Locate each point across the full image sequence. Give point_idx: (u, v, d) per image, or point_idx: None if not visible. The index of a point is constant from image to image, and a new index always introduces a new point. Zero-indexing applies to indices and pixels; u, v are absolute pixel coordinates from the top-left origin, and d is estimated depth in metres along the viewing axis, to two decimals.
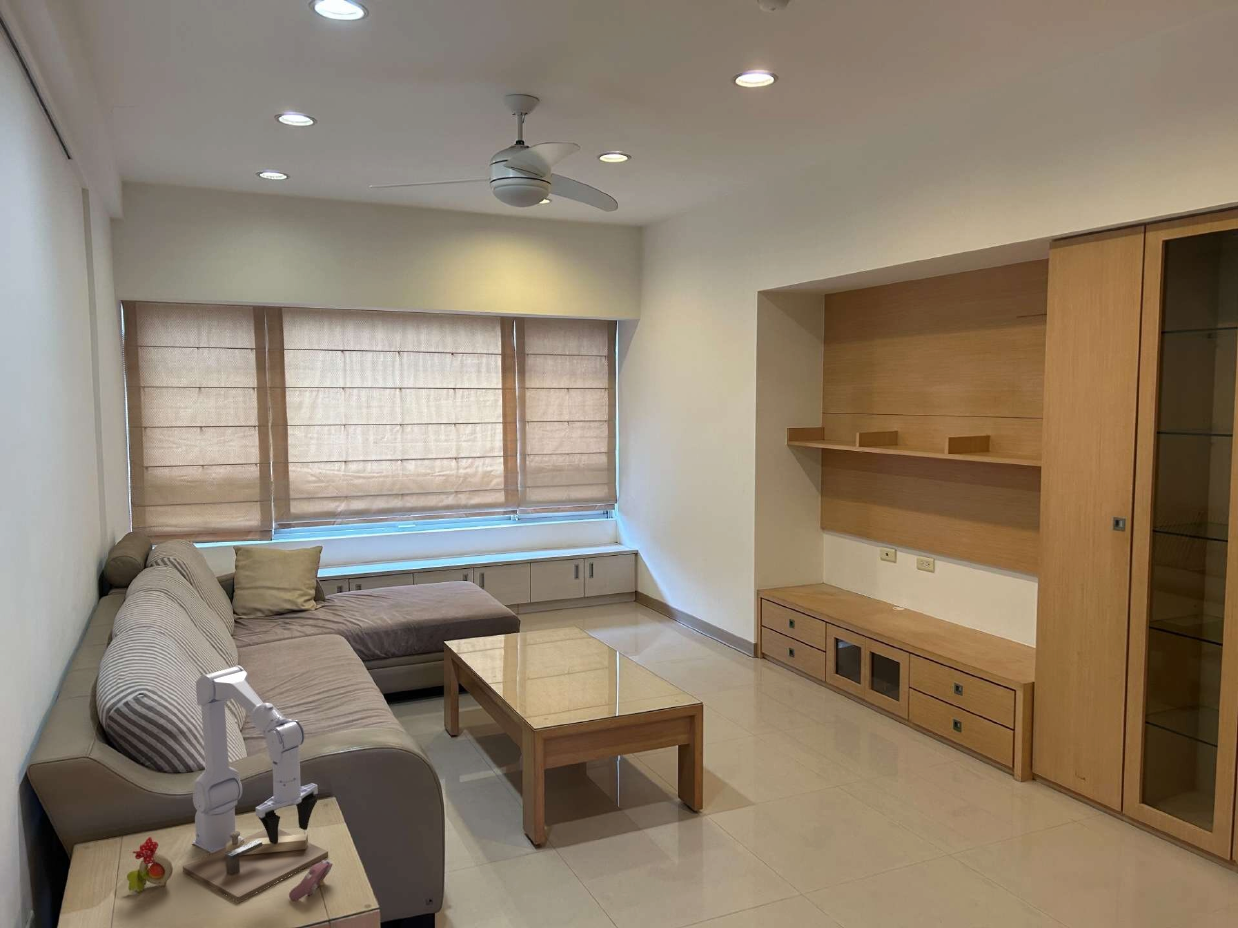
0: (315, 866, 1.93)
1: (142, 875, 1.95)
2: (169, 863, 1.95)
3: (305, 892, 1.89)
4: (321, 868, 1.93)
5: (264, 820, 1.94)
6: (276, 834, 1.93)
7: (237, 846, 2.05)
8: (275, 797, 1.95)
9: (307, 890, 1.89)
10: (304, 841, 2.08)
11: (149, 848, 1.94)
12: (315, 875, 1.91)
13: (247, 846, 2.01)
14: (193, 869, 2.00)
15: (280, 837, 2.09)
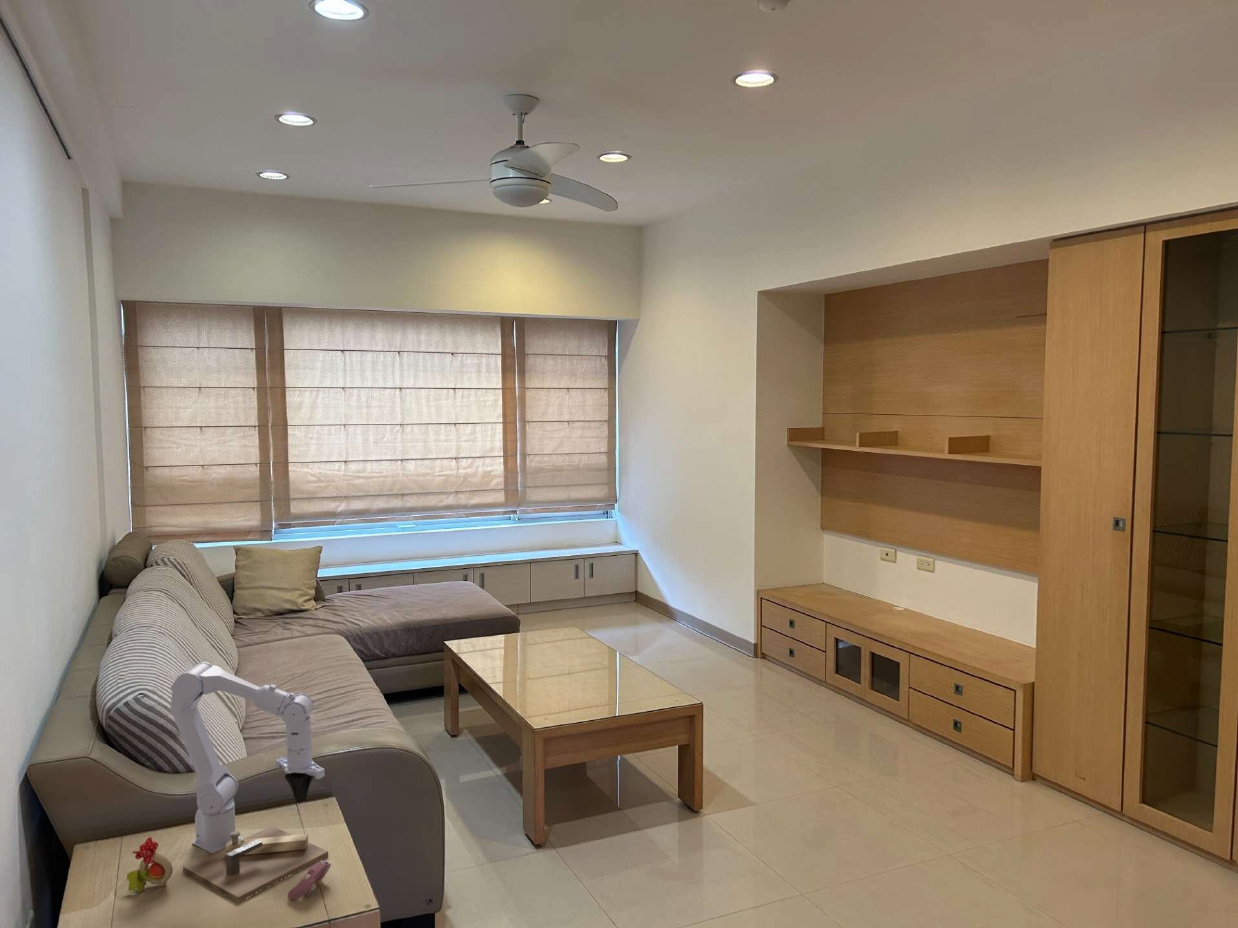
0: (314, 866, 1.93)
1: (142, 875, 1.95)
2: (169, 863, 1.95)
3: (304, 892, 1.89)
4: (320, 868, 1.93)
5: None
6: (294, 793, 2.13)
7: (237, 846, 2.05)
8: None
9: (305, 890, 1.89)
10: (304, 841, 2.08)
11: (149, 848, 1.94)
12: (314, 875, 1.91)
13: (247, 846, 2.01)
14: (193, 869, 2.00)
15: (280, 837, 2.09)
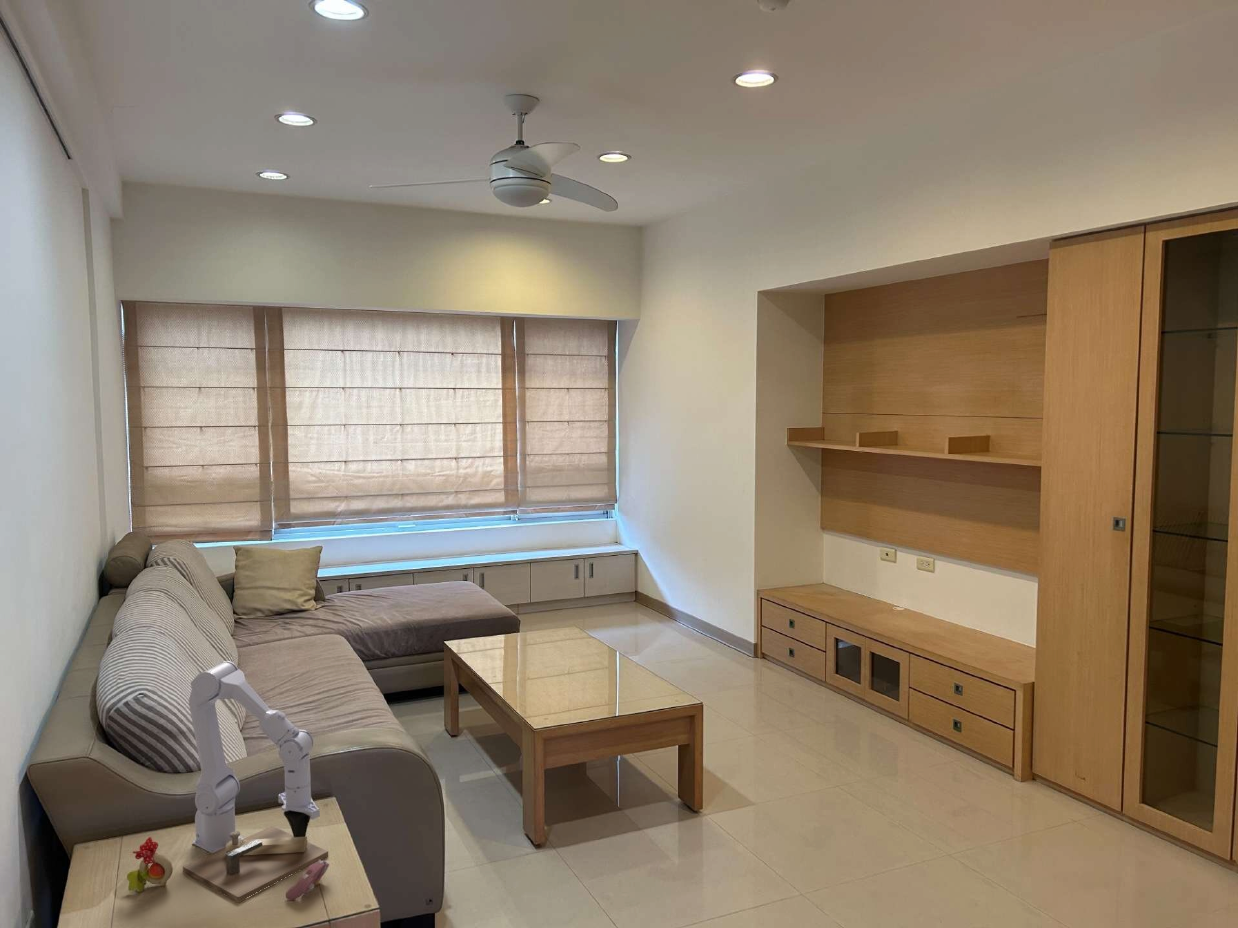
0: (312, 866, 1.93)
1: (142, 875, 1.95)
2: (169, 863, 1.95)
3: (302, 892, 1.89)
4: (318, 868, 1.93)
5: None
6: (292, 830, 2.10)
7: (236, 846, 2.05)
8: None
9: (304, 889, 1.89)
10: (302, 844, 2.07)
11: (149, 848, 1.94)
12: (312, 875, 1.91)
13: (247, 846, 2.01)
14: (193, 869, 2.00)
15: (280, 839, 2.08)
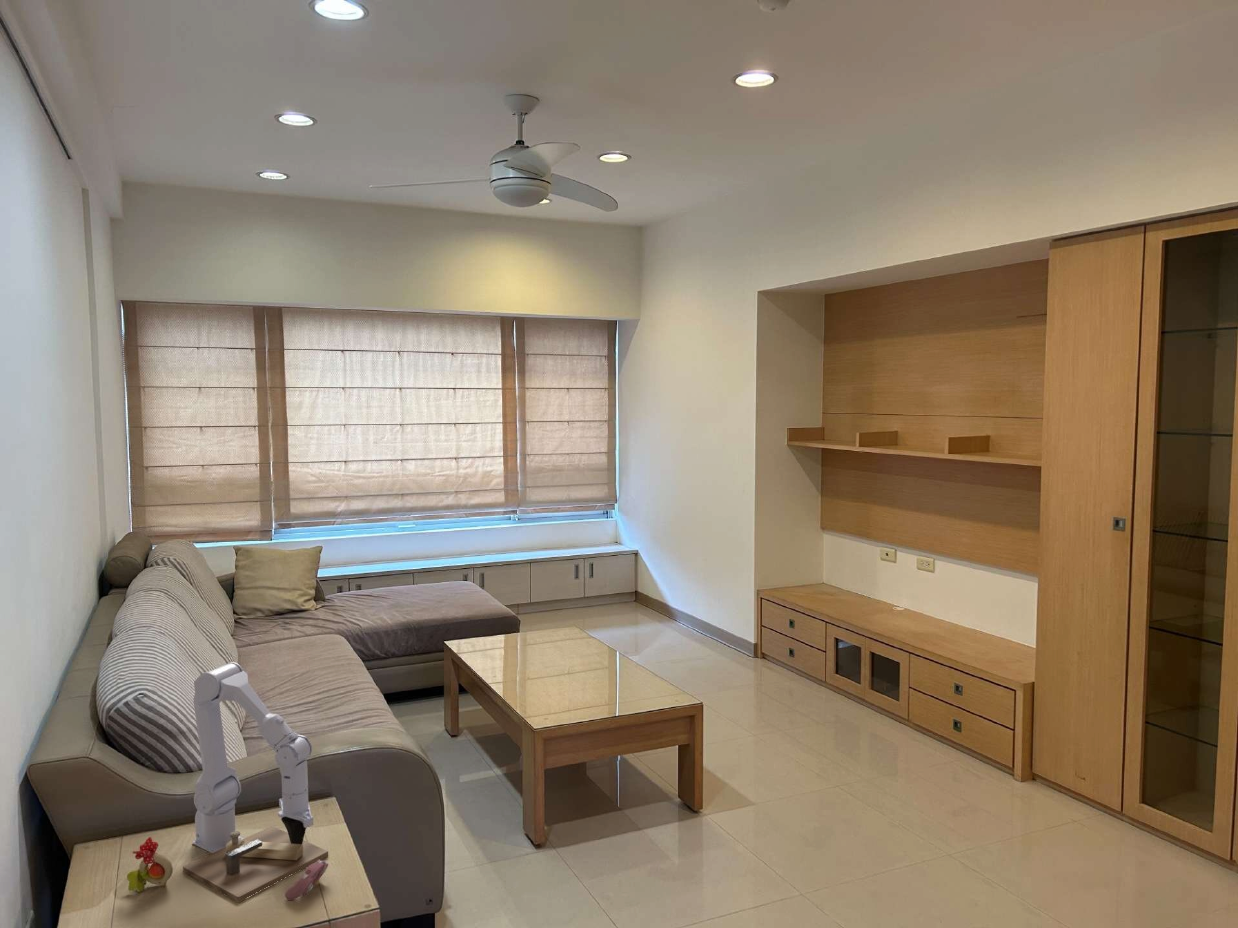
0: (311, 866, 1.93)
1: (142, 875, 1.95)
2: (169, 863, 1.95)
3: (301, 892, 1.89)
4: (317, 868, 1.93)
5: None
6: (289, 837, 2.07)
7: (235, 847, 2.05)
8: None
9: (303, 889, 1.89)
10: (295, 852, 2.03)
11: (149, 848, 1.94)
12: (311, 875, 1.91)
13: (247, 846, 2.01)
14: (193, 869, 2.00)
15: (277, 844, 2.06)
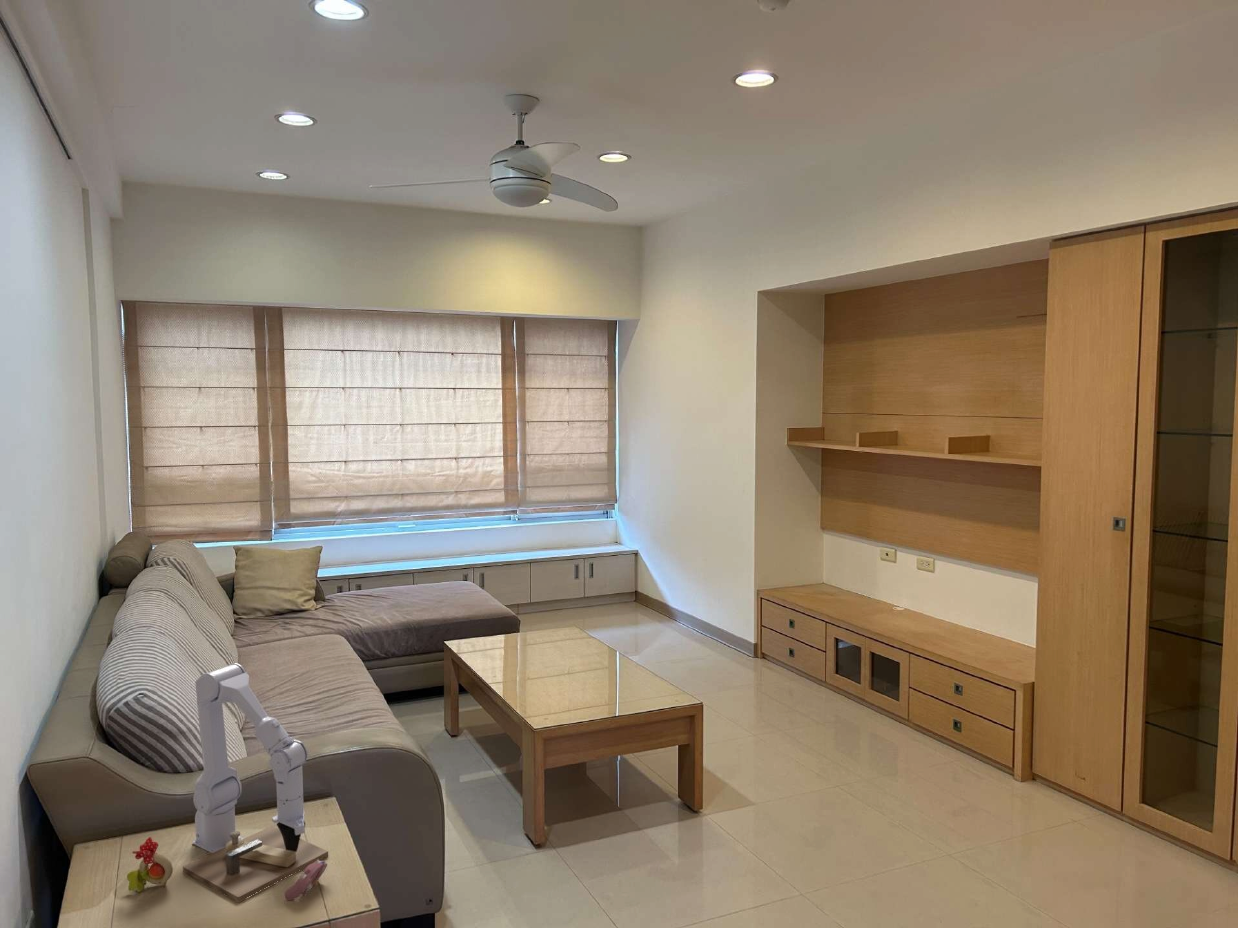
0: (310, 866, 1.93)
1: (142, 875, 1.95)
2: (169, 863, 1.95)
3: (300, 892, 1.89)
4: (316, 868, 1.93)
5: None
6: (284, 843, 2.04)
7: (233, 847, 2.05)
8: None
9: (302, 889, 1.89)
10: (285, 859, 2.00)
11: (149, 848, 1.94)
12: (310, 875, 1.91)
13: (247, 846, 2.01)
14: (193, 869, 2.00)
15: (272, 848, 2.04)
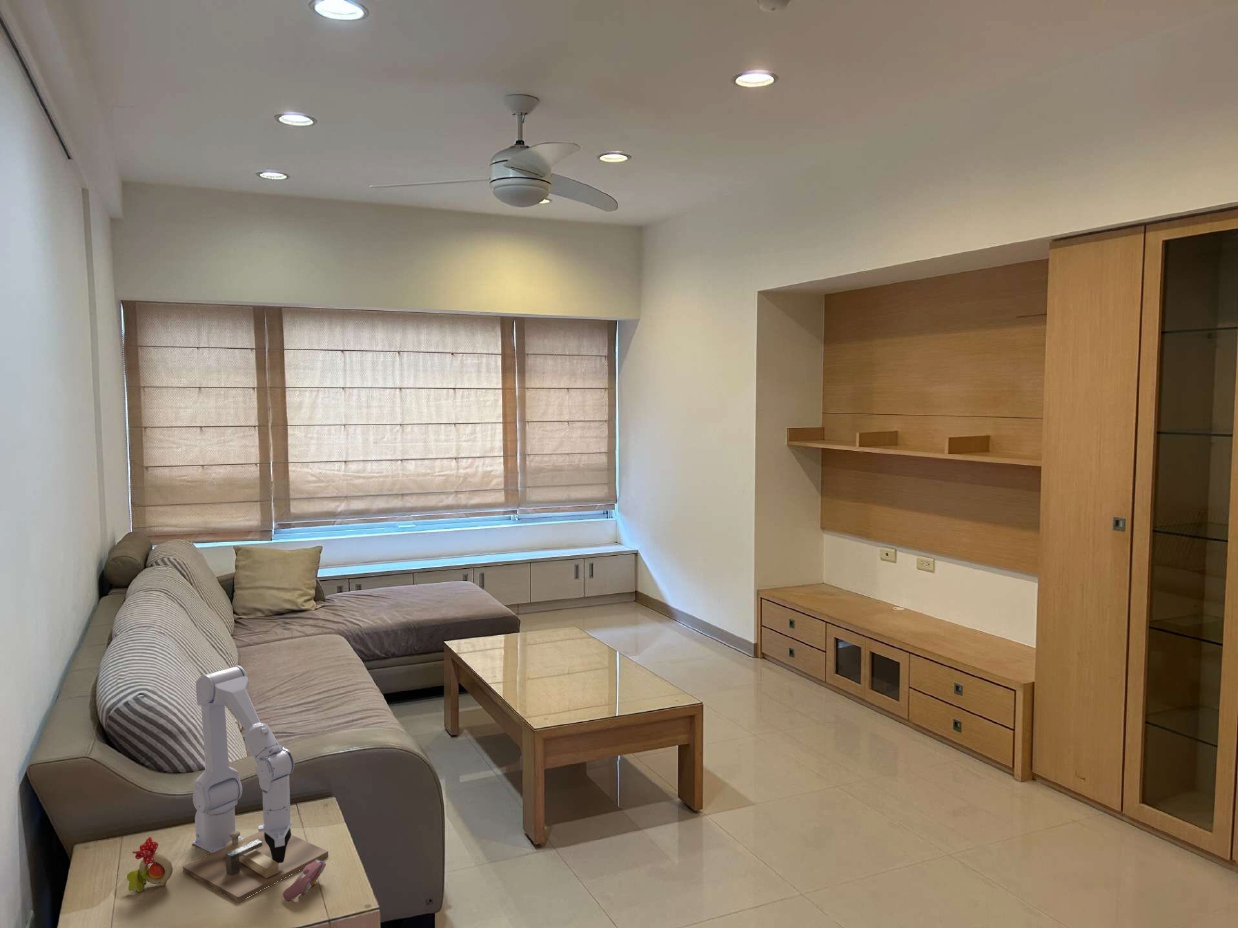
0: (309, 866, 1.93)
1: (142, 875, 1.95)
2: (169, 863, 1.95)
3: (299, 892, 1.89)
4: (315, 868, 1.93)
5: None
6: (271, 853, 2.00)
7: (231, 847, 2.05)
8: None
9: (301, 889, 1.89)
10: (265, 869, 1.96)
11: (149, 848, 1.94)
12: (309, 875, 1.91)
13: (247, 846, 2.01)
14: (193, 869, 2.00)
15: (261, 855, 2.01)
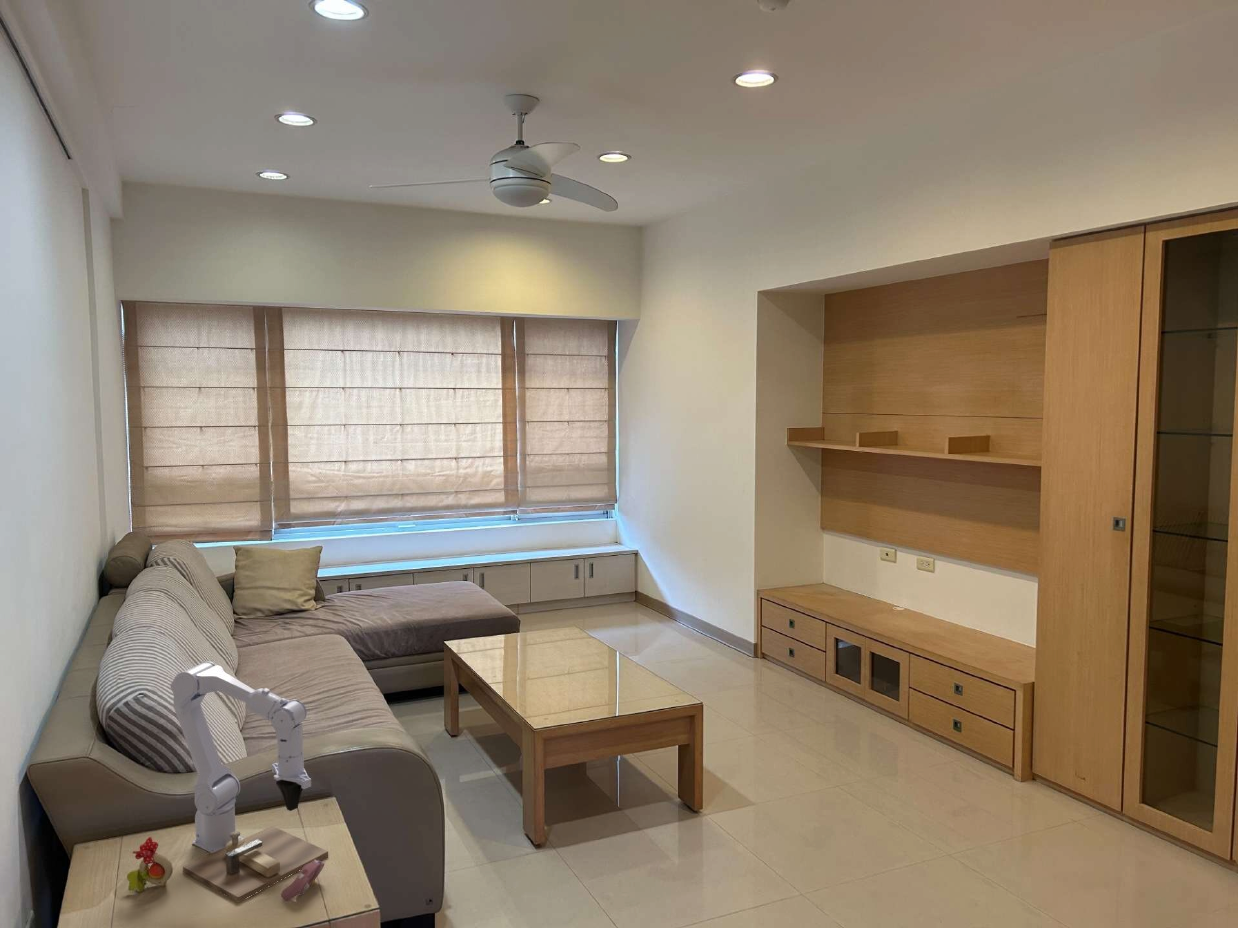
0: (307, 866, 1.93)
1: (142, 875, 1.95)
2: (169, 863, 1.95)
3: (297, 892, 1.89)
4: (313, 867, 1.93)
5: None
6: (285, 800, 2.09)
7: (231, 847, 2.05)
8: None
9: (299, 889, 1.89)
10: (266, 869, 1.96)
11: (149, 848, 1.94)
12: (307, 874, 1.91)
13: (247, 846, 2.01)
14: (193, 869, 2.00)
15: (262, 854, 2.01)
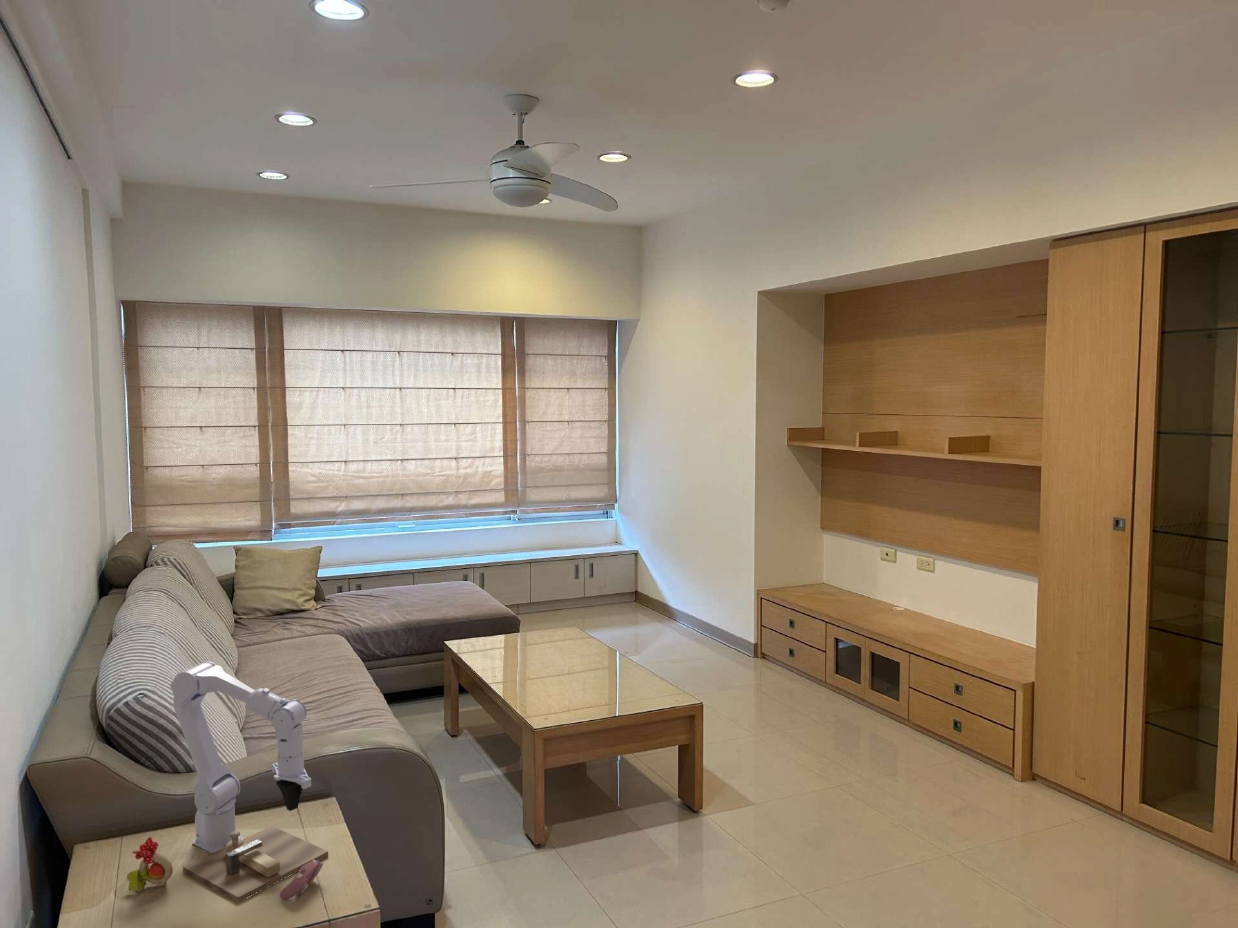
0: (306, 865, 1.93)
1: (142, 875, 1.95)
2: (169, 863, 1.95)
3: (296, 891, 1.89)
4: (312, 867, 1.93)
5: None
6: (285, 800, 2.09)
7: (231, 847, 2.05)
8: None
9: (298, 889, 1.89)
10: (266, 869, 1.96)
11: (149, 848, 1.94)
12: (306, 874, 1.91)
13: (247, 846, 2.01)
14: (193, 869, 2.00)
15: (262, 854, 2.01)
